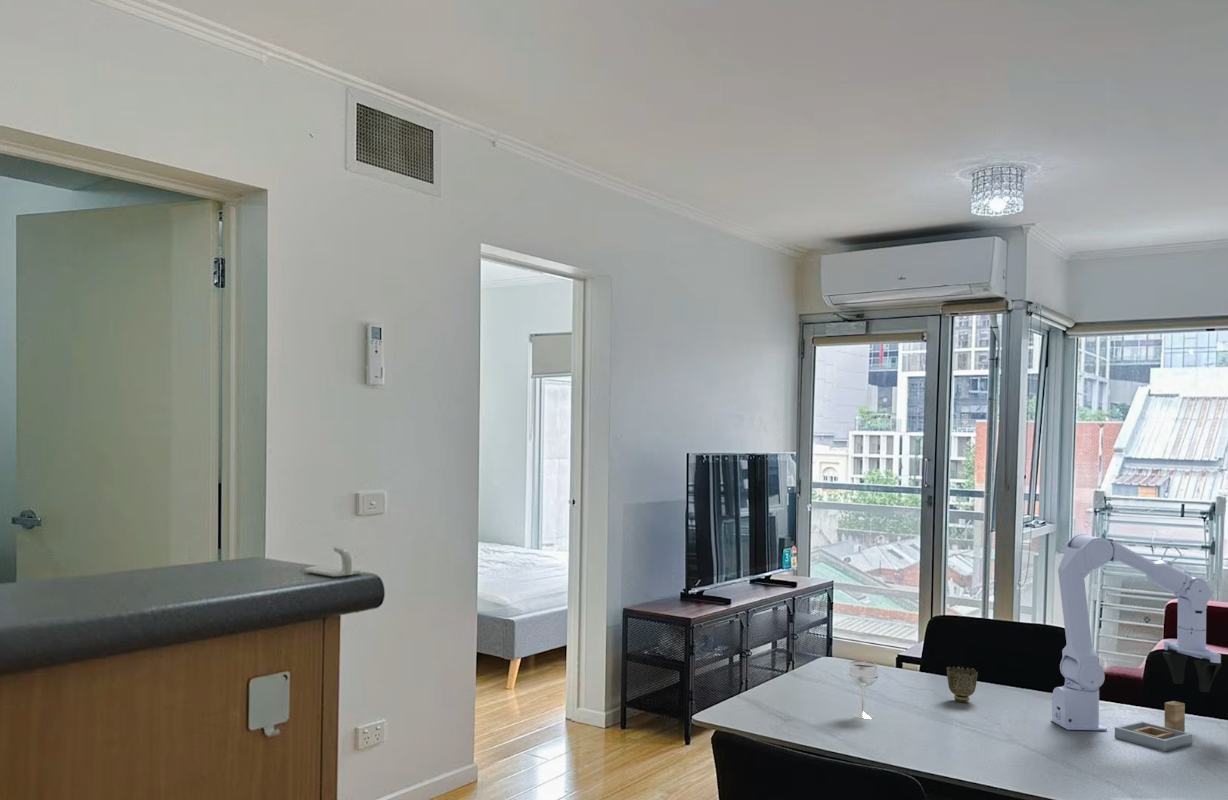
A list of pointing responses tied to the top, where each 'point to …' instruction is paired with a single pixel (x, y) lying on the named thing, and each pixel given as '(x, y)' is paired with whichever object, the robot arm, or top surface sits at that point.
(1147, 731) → the grey tray
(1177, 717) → the tan wooden tall block
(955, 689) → the cup
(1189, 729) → the top surface
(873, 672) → the wineglass
